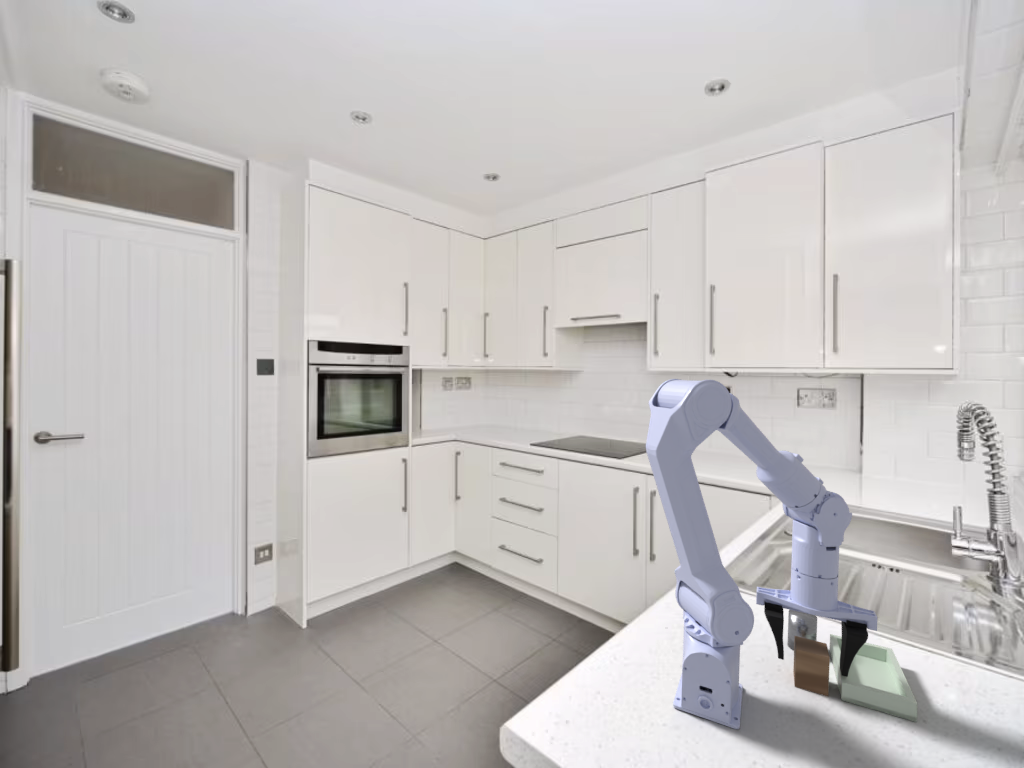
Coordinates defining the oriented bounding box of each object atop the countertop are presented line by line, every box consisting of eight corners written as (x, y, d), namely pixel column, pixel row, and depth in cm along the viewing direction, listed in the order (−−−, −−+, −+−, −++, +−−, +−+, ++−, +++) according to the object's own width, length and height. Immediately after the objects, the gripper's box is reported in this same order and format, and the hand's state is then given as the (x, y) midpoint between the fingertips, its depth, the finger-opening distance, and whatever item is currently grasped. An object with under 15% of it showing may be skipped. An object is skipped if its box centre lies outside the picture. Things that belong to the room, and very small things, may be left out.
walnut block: (828, 696, 65) (829, 657, 65) (794, 687, 67) (796, 649, 67) (825, 680, 68) (826, 643, 68) (793, 671, 70) (794, 635, 70)
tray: (916, 722, 60) (917, 703, 60) (841, 700, 64) (842, 682, 64) (891, 664, 72) (891, 648, 72) (829, 649, 76) (830, 633, 76)
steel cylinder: (817, 658, 74) (818, 623, 74) (787, 650, 76) (789, 616, 76) (814, 645, 77) (816, 612, 77) (787, 638, 79) (788, 606, 79)
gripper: (871, 571, 67) (868, 664, 67) (757, 551, 74) (755, 636, 74) (882, 591, 61) (878, 693, 61) (757, 567, 68) (754, 659, 68)
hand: (811, 663), depth 67 cm, fingers open, 7 cm apart
